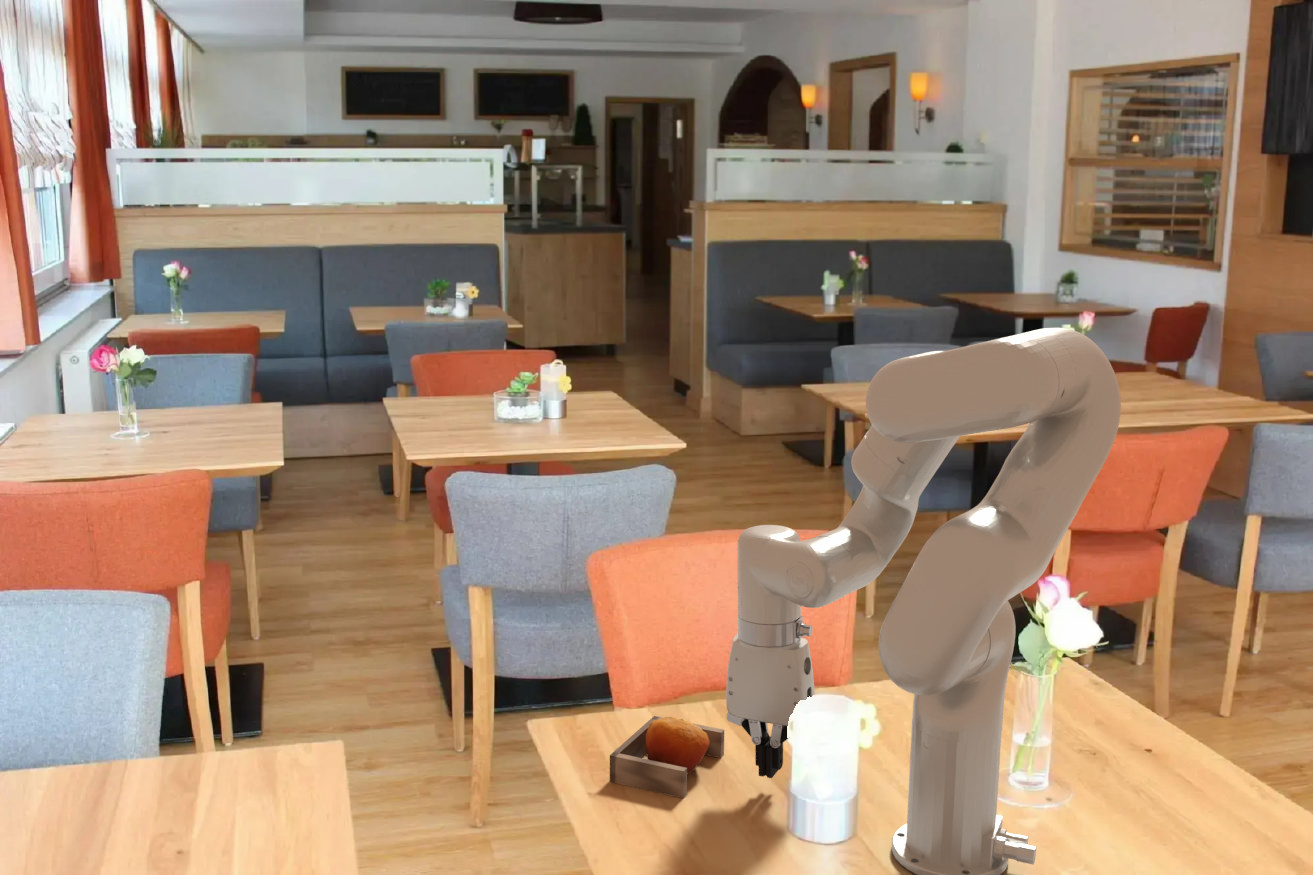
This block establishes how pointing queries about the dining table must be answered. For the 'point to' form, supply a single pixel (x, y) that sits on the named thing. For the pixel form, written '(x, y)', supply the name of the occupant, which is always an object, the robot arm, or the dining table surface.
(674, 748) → the fruit
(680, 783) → the u-shaped wall frame
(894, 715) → the dining table surface
